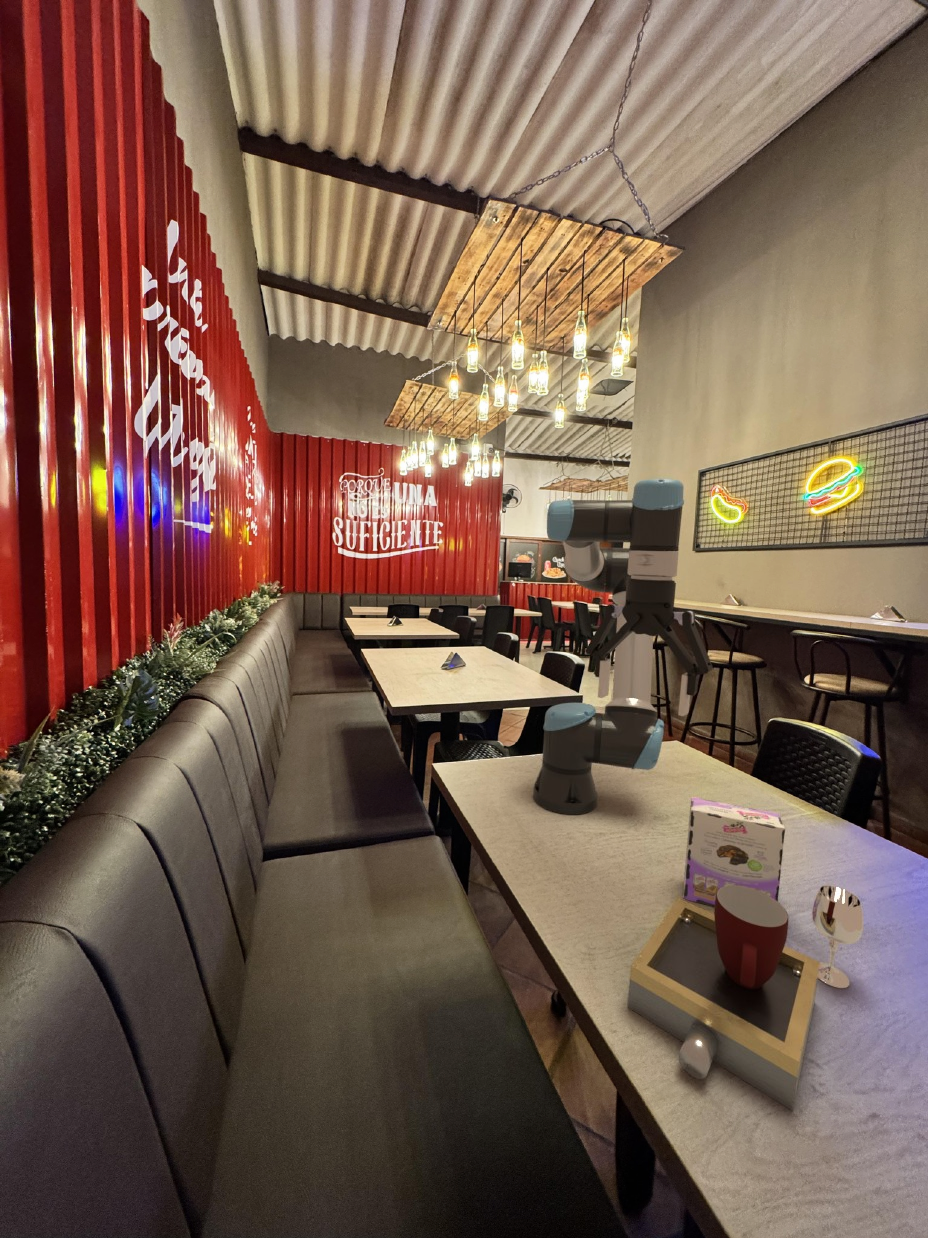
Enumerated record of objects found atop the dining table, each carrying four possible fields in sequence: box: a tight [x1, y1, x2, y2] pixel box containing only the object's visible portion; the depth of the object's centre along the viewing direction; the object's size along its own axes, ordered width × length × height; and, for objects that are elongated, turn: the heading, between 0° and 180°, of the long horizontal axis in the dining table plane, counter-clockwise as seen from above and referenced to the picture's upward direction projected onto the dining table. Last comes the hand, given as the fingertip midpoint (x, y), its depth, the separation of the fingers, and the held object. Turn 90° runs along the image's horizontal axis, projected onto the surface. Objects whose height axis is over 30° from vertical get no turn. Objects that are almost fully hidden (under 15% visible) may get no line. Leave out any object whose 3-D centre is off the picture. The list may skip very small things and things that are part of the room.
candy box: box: [682, 796, 786, 908], centre depth 84 cm, size 14×6×16 cm, turn 66°
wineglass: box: [811, 884, 865, 989], centre depth 70 cm, size 6×6×12 cm
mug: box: [713, 885, 789, 989], centre depth 63 cm, size 11×8×10 cm
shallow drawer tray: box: [627, 897, 821, 1112], centre depth 63 cm, size 18×22×6 cm
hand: (641, 704), depth 83 cm, fingers open, 13 cm apart
